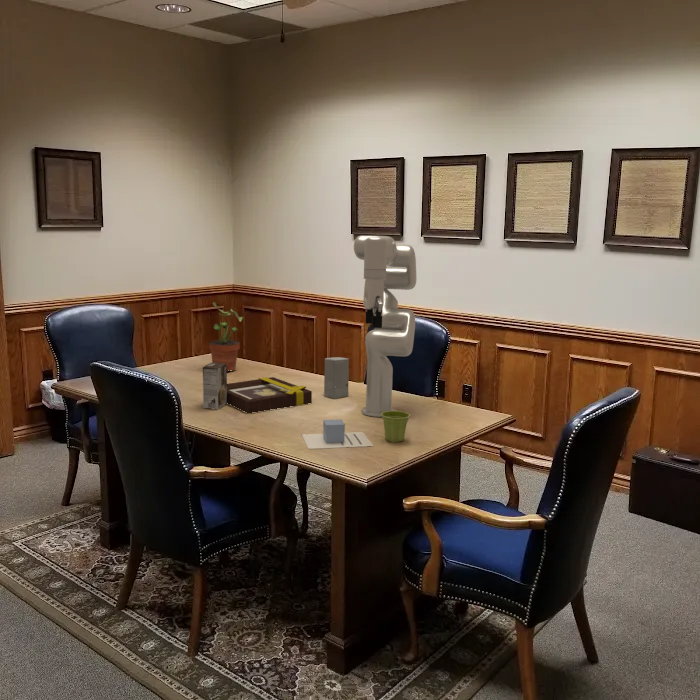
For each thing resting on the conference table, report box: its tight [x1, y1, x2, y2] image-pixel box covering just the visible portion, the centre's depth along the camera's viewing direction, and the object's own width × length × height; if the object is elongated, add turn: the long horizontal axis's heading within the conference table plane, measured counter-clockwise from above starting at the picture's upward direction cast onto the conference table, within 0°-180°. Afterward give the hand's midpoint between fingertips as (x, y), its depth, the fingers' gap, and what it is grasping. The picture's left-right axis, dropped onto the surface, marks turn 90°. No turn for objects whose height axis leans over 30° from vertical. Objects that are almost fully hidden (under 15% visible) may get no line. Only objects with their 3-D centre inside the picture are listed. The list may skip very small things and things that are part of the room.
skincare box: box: [323, 356, 350, 400], centre depth 292 cm, size 8×7×16 cm
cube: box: [322, 418, 346, 443], centre depth 234 cm, size 6×6×6 cm
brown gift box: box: [227, 376, 313, 414], centre depth 282 cm, size 28×7×30 cm
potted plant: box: [208, 301, 244, 372], centre depth 332 cm, size 16×15×35 cm
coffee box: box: [202, 362, 228, 410], centre depth 272 cm, size 9×6×16 cm
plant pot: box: [381, 410, 411, 443], centre depth 237 cm, size 9×9×9 cm
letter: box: [301, 431, 374, 450], centre depth 235 cm, size 15×21×1 cm
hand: (373, 325), depth 242 cm, fingers open, 9 cm apart
